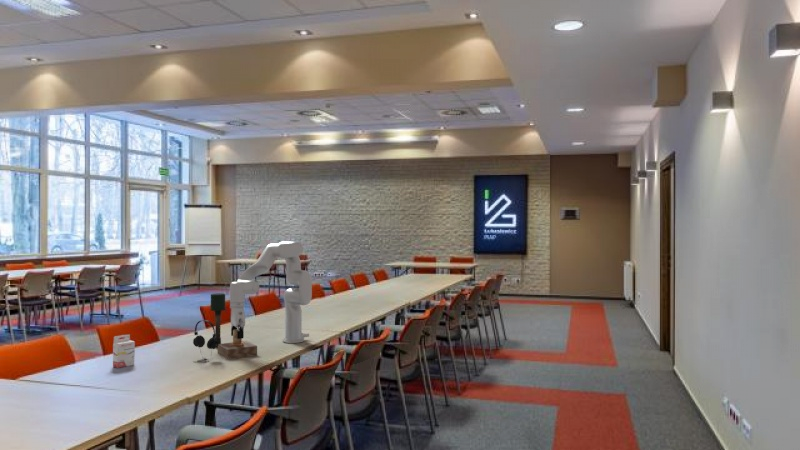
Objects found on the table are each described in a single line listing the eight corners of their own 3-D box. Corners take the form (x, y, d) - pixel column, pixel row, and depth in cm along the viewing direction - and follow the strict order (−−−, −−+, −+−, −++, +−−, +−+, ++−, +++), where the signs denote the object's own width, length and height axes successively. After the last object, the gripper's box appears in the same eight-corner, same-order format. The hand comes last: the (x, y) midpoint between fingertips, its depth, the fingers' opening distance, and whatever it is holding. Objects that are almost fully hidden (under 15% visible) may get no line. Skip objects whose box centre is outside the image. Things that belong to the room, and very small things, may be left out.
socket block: (246, 349, 315) (246, 340, 315) (257, 355, 302) (257, 345, 302) (217, 353, 306) (217, 344, 306) (227, 359, 293) (227, 349, 293)
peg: (241, 351, 308) (241, 328, 308) (245, 354, 303) (245, 330, 303) (229, 353, 305) (229, 329, 305) (233, 355, 299) (233, 331, 299)
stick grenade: (228, 345, 326) (228, 293, 326) (222, 348, 317) (222, 295, 317) (213, 345, 327) (214, 293, 327) (207, 348, 318) (207, 294, 318)
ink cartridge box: (118, 368, 274) (118, 337, 274) (112, 366, 277) (112, 336, 277) (135, 364, 281) (135, 334, 281) (129, 363, 284) (129, 333, 284)
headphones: (182, 360, 290) (182, 321, 290) (199, 356, 300) (200, 318, 300) (204, 363, 283) (204, 323, 283) (221, 359, 293) (221, 320, 293)
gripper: (249, 306, 299) (249, 338, 299) (238, 302, 313) (238, 333, 313) (235, 307, 295) (235, 340, 295) (225, 303, 309) (225, 335, 309)
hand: (237, 336), depth 304 cm, fingers open, 9 cm apart
